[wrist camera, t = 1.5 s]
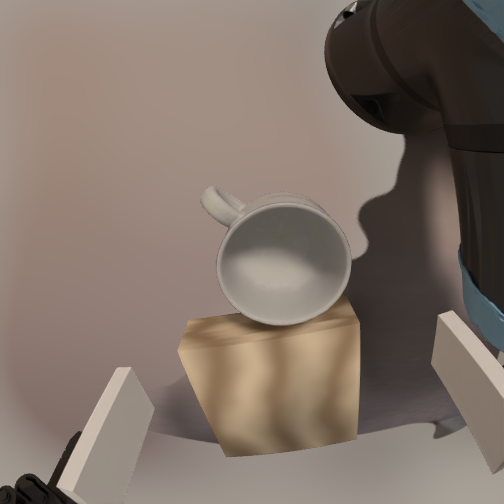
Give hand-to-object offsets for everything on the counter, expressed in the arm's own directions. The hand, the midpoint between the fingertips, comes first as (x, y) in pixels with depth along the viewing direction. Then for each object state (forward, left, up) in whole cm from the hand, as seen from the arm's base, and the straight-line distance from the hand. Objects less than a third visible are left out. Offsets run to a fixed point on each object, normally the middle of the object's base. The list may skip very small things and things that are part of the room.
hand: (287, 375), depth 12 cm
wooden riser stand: (+2, +19, -21) cm, 28 cm away
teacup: (0, 0, -21) cm, 21 cm away
